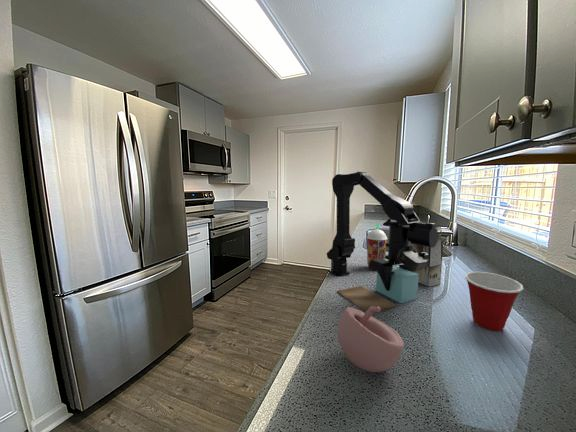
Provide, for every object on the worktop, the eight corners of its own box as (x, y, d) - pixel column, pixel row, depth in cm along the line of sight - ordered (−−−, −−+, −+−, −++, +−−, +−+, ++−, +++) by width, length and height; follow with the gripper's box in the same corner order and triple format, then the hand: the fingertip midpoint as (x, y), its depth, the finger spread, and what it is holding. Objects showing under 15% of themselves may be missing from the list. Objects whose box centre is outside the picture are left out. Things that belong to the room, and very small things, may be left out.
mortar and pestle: (417, 382, 41) (421, 321, 40) (354, 395, 38) (357, 329, 37) (377, 340, 53) (379, 291, 51) (327, 347, 50) (328, 296, 49)
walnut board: (337, 292, 77) (337, 290, 77) (360, 287, 81) (360, 285, 81) (369, 314, 64) (369, 312, 64) (396, 306, 68) (396, 305, 68)
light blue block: (376, 290, 79) (377, 267, 78) (391, 286, 82) (392, 264, 81) (401, 303, 70) (402, 277, 69) (417, 298, 73) (418, 274, 72)
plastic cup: (465, 330, 56) (469, 282, 55) (457, 310, 66) (461, 269, 65) (526, 344, 51) (533, 292, 50) (508, 320, 61) (513, 275, 60)
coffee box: (441, 284, 84) (445, 240, 82) (428, 287, 82) (431, 242, 80) (419, 275, 92) (422, 236, 91) (407, 277, 90) (409, 237, 89)
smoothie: (389, 271, 97) (391, 224, 95) (369, 271, 97) (371, 224, 95) (381, 265, 105) (383, 221, 103) (362, 265, 105) (364, 221, 103)
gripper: (398, 250, 63) (395, 305, 64) (443, 243, 70) (439, 293, 72) (368, 241, 73) (366, 289, 75) (410, 237, 80) (408, 280, 82)
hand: (396, 288), depth 76 cm, fingers closed on light blue block, 7 cm apart
